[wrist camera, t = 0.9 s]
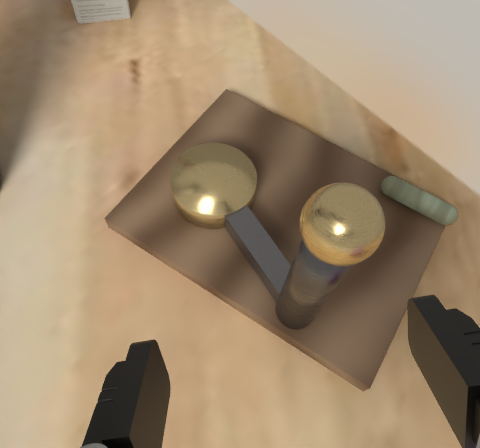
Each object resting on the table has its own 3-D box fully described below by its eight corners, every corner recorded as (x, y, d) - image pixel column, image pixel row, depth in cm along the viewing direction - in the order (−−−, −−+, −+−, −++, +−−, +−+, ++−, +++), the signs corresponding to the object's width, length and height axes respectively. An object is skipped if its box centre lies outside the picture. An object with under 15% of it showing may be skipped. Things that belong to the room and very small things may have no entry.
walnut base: (108, 226, 37) (99, 206, 34) (226, 100, 45) (226, 75, 42) (368, 394, 31) (384, 387, 29) (450, 217, 39) (469, 197, 36)
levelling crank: (157, 180, 37) (127, 23, 24) (227, 148, 39) (234, -13, 26) (271, 358, 31) (317, 277, 17) (348, 308, 33) (441, 201, 19)
